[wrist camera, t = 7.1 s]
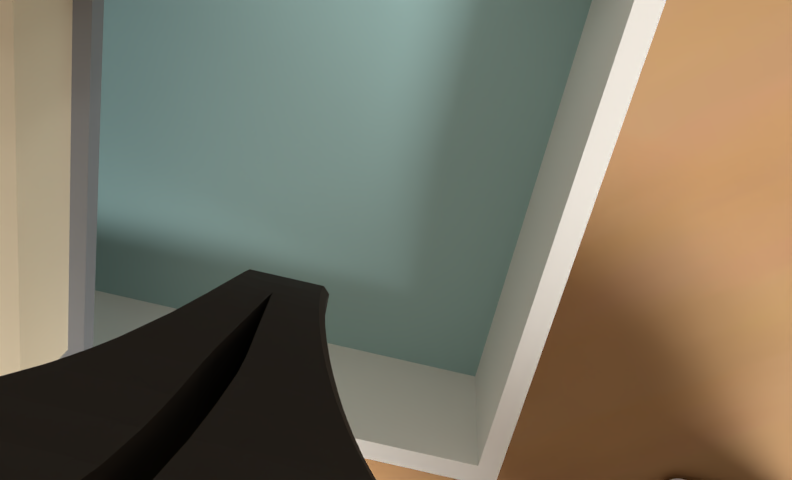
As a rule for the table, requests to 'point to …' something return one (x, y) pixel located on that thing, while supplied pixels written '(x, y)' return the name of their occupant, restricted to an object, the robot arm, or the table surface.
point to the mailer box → (369, 186)
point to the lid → (48, 177)
